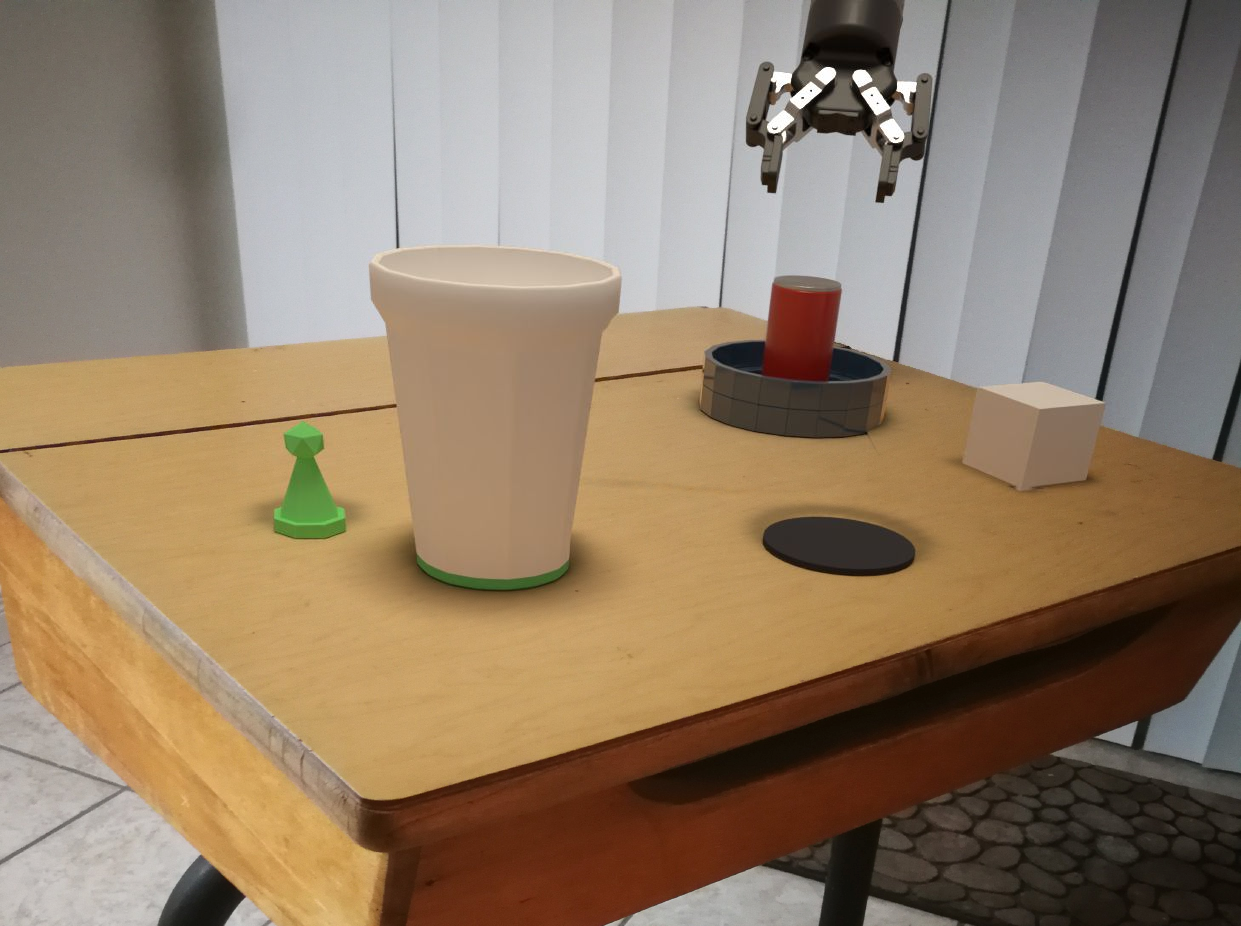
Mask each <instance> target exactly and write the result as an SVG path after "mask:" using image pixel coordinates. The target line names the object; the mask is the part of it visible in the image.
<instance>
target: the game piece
mask: <svg viewBox="0 0 1241 926" xmlns="http://www.w3.org/2000/svg"><path fill="white" fill-rule="evenodd" d="M283 439H284V447H285V449H286V450H287V451H288V452H289V454H291V456H292V457H293V456H294V457H295V458H296V459H295V461H294V465H293V468H292V472H291V475H290V478H289V482H288V485H287V487H286V491H285V494H284V498H283V501H282V504H281V506H280V507H276V508H274V511H273V524H274V532H275V533H278V534H280V535H284V536H287V537H290V538H294V539H327V538H329V537H333V536H335V535H338V534H341V533H343V532H346V531H347V527H346V525H347V523H346V511H345V508H343V507H341V506H337V505H336V503H335V501H334V498H333V496H332V494H331V491H330V490H329V487H328V485H327V482H326V481H325V478H324V476H323V474H322V471H321V470H320V467H319V465H318V463H317V460H316V458H315V456H317V455H318V454H319V453H321V452H323V450H325V441H324V435H323V433H322V432H321V431H320V430H319V429H318V428H317V427H315V426H313V425H311V424H310V423H307V422H305V421H304V420H303V421H300V422H299V423H297V424H296V425H294V426H293V427H291V428H289V429H288V430H287V431H285V432H284V433H283Z"/></svg>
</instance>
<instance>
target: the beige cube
mask: <svg viewBox="0 0 1241 926" xmlns="http://www.w3.org/2000/svg"><path fill="white" fill-rule="evenodd" d="M1106 404H1107V402H1105V401H1102V400H1099V399H1096V398H1093V397H1090V396H1087V395H1085V394H1080V393H1078V392H1074V391H1072V390H1069V389H1067V388H1063V387H1060V386H1057V385H1054V384H1051V383H1048V382H1045V381H1032V382H1022V383H1021V382H1020V383H1007V384H997V385H996V384H993V385H984V386H977V389H976V394H975V399H974V402H973V409H972V413H971V418H970V422H969V427H968V432H967V437H966V442H965V446H964V450H963V451H964V452H963V456H962V461H961V463H962V464H963V465H966V466H968V467H971V468H973V469H976V470H977V471H979V472H982V473H985V474H987V475H989V476H992V477H994V478H996V479H999V480H1001V481H1003V482H1005V483H1008V484H1010V485H1008V487H1009V488H1012V489H1013V490H1016V491H1019V492H1028V491H1035V490H1042V489H1044V486H1049V485H1050V486H1051V485H1058V484H1067V483H1074V482H1081V481H1087V477H1088V474H1089V470H1090V466H1091V462H1092V460H1093V459H1092V458H1093V455H1094V451H1095V447H1096V444H1097V439H1098V436H1099V432H1100V428H1101V424H1102V420H1103V417H1104V413H1105V408H1106ZM1042 486H1043V487H1042Z"/></svg>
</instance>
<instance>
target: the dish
mask: <svg viewBox="0 0 1241 926" xmlns="http://www.w3.org/2000/svg"><path fill="white" fill-rule="evenodd" d="M764 347H765V339H746V340H745V339H743V340H735V341H734V340H733V341H727V342H721V343H718V344H713V345H711V346H710V347H708V348H707V349H705V350H704V351H703V358H702V368H701V369H702V370H701V380H700V391H699V401H698V402H699V409H700V410H701V412H703V413H704V414H706V415H707V416H708V417H710V418H712V419H713V420H716V421H718V422H721V423H724V424H727V425H728V426H732V427H736V428H739V429H740V428H741V429H743V430H746V431H747V430H748V431H752V432H757V433H763V434H770V435H776V436H783V437H784V436H785V437H796V438H797V437H799V438H814V439H819V438H821V439H822V438H845V437H852V436H858V435H864V434H867V433H868V431H871V430H873V429H876V428H878V427H880V426H881V424H882V423H883V421H884V418H885V412H886V408H887V407H886V406H887V401H888V394H889V389H890V383H891V378H892V371H893V370H892V367H890V365H889V364H888V363H887V362H885V361H884V360H881V359H879V358H878V357H876V356H874V355H870V354H868V353H864V352H861V351H857V350H854V349H849V348H845V347H840V346H836V345H834V349H833V355H832V362H831V369H830V376H829V381H806V380H792V379H784V378H777V377H770V376H763V375H761V372H762V364H763V355H764Z"/></svg>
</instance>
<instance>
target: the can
mask: <svg viewBox="0 0 1241 926" xmlns="http://www.w3.org/2000/svg"><path fill="white" fill-rule="evenodd" d="M842 292H843V288H842V283H841V282H840V281H837V280H834V279H829V278H825V277H820V276H810V275H798V274H797V275H794V274H792V275H789V274H788V275H780V276H779V275H778V276H775V277H774V278H773V281H772V283H771V288H770V297H769V305H768V312H767V313H768V314H767V322H766V331H765V338H764V340H765V347H764V355H763V364H762V372H761V375H763V376H770V377H777V378H784V379H792V380H806V381H829V376H830V369H831V362H832V355H833V349H834V346H835V341H836V335H837V327H838V321H839V313H840V306H841V299H842V294H843V293H842Z"/></svg>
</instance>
